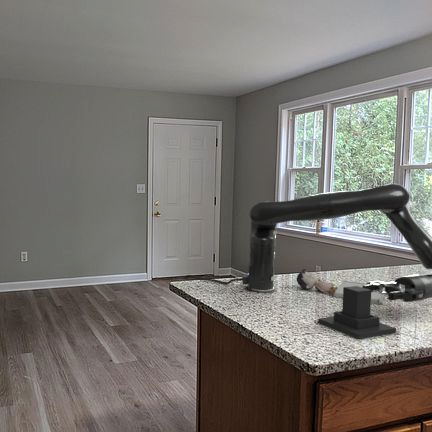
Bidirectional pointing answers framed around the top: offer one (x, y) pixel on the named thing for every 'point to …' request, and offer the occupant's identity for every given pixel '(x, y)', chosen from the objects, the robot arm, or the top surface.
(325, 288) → the figurine
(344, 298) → the pad block
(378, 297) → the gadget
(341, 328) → the base pad
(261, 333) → the top surface
